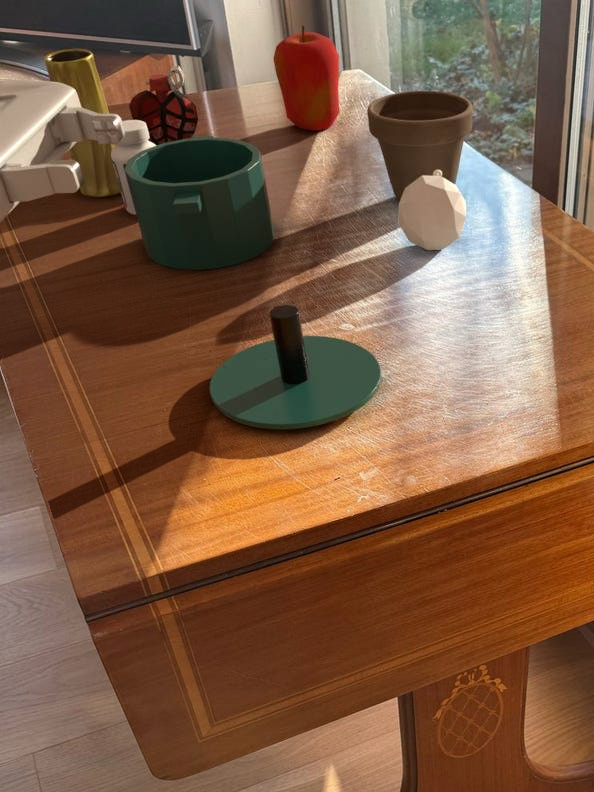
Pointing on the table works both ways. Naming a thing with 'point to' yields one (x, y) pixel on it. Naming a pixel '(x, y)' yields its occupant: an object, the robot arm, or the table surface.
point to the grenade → (165, 109)
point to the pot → (201, 202)
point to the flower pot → (420, 134)
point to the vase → (84, 78)
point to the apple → (308, 79)
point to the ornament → (432, 212)
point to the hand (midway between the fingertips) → (100, 151)
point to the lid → (294, 378)
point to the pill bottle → (129, 155)
